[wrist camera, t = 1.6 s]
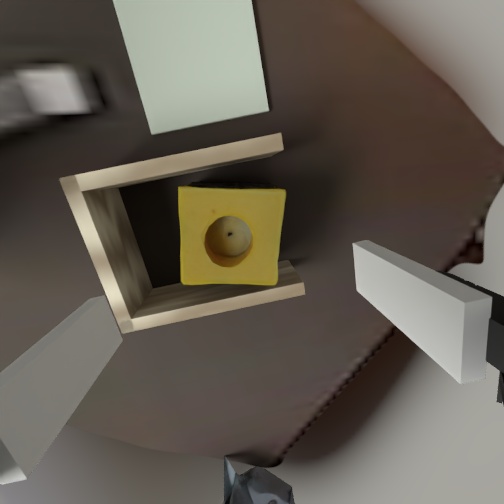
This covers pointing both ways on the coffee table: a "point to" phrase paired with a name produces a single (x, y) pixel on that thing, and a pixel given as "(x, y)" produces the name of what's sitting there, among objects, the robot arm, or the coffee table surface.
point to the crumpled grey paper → (255, 487)
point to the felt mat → (193, 60)
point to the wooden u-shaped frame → (127, 251)
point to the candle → (230, 232)
